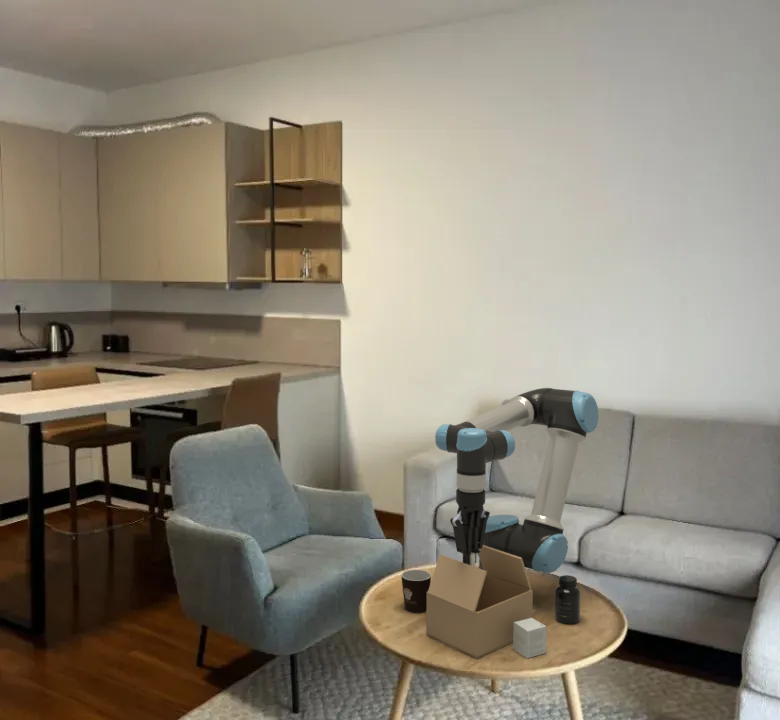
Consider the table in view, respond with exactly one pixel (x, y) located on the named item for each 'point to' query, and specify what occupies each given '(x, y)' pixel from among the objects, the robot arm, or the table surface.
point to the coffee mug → (415, 590)
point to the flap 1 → (457, 582)
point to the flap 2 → (504, 566)
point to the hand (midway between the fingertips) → (469, 576)
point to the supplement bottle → (567, 600)
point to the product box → (529, 637)
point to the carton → (480, 618)
